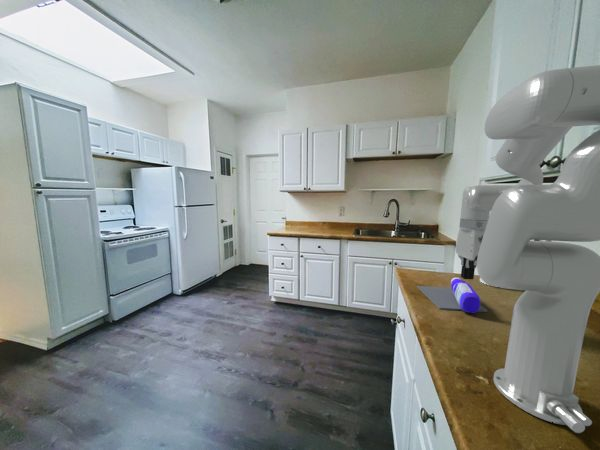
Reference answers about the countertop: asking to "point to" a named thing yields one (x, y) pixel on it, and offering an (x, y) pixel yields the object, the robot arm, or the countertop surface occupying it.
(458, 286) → the bottle
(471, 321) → the countertop surface
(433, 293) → the mat
